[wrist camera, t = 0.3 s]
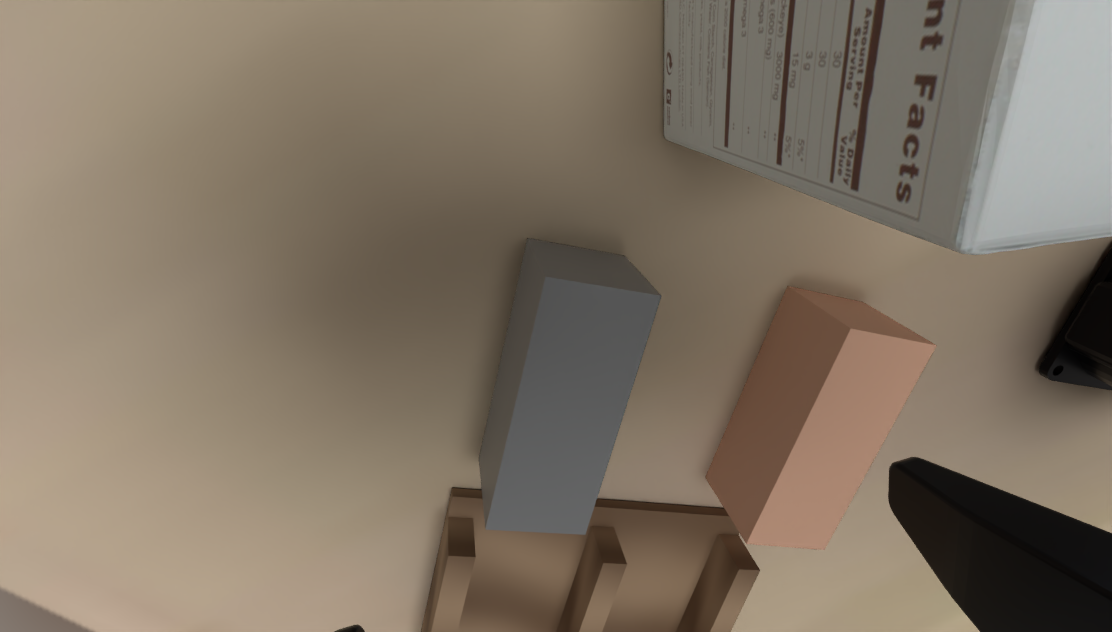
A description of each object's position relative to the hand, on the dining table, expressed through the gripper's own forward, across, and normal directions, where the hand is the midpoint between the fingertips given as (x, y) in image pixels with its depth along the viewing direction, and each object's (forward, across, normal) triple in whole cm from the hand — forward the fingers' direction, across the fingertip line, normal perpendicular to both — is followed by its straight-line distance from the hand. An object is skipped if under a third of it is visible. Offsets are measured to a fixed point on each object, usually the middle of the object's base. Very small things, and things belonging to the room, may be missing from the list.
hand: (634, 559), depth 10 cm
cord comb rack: (+12, +2, +16) cm, 20 cm away
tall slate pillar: (+12, 0, +3) cm, 13 cm away
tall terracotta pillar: (+12, -9, +7) cm, 17 cm away
